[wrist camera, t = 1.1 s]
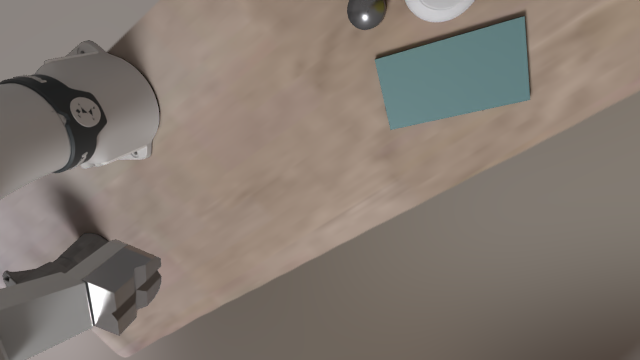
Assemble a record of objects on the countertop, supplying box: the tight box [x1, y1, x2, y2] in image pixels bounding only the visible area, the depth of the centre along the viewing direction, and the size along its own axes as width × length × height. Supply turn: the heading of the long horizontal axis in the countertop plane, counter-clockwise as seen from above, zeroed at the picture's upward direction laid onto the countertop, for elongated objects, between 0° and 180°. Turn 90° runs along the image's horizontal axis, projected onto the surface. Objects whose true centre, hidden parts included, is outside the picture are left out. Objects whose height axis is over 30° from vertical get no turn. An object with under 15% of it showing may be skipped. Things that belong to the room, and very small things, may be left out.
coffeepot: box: [3, 233, 108, 287], centre depth 63 cm, size 15×9×18 cm, turn 22°
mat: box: [375, 16, 530, 130], centre depth 40 cm, size 16×9×1 cm, turn 107°
